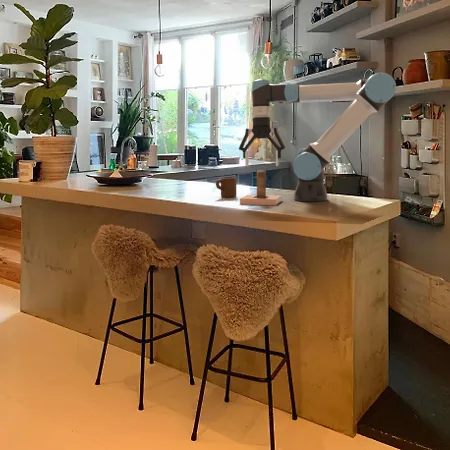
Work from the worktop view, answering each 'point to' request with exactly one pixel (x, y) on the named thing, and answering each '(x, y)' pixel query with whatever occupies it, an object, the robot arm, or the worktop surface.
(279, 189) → the worktop surface
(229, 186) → the mug
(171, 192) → the worktop surface
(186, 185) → the worktop surface
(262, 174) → the peg
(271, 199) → the socket plate
